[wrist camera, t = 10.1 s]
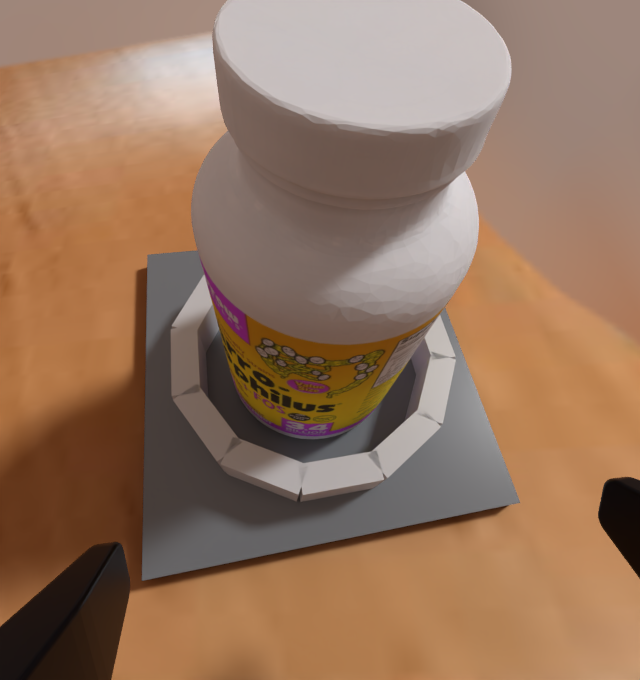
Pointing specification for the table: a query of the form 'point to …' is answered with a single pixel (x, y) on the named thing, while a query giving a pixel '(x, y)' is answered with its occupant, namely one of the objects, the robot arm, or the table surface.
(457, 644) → the table surface
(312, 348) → the supplement bottle
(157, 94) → the table surface
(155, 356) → the socket plate
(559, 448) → the table surface
